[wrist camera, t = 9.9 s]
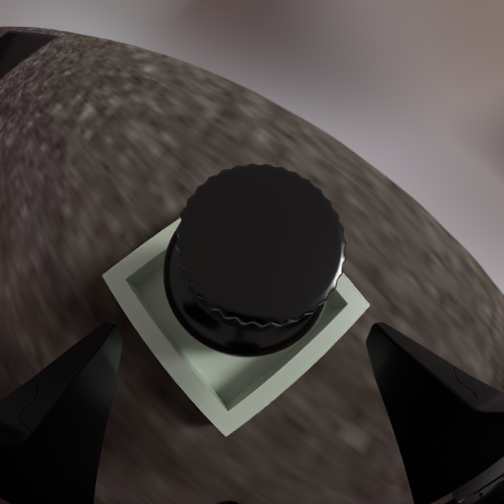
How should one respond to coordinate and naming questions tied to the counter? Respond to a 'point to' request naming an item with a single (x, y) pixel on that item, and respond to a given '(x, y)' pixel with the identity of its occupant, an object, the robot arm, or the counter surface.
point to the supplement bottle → (253, 260)
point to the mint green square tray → (209, 361)
